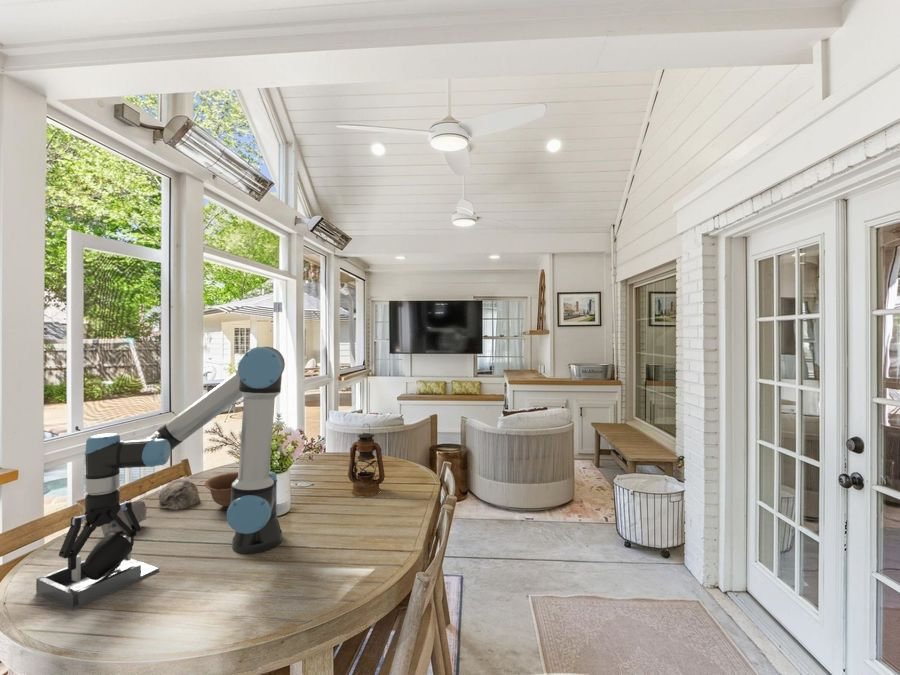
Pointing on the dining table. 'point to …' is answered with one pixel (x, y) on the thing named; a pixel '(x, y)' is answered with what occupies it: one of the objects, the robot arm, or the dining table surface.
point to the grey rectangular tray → (89, 584)
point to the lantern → (366, 479)
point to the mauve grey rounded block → (139, 512)
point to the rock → (179, 495)
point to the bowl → (221, 488)
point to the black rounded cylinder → (106, 556)
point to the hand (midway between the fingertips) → (102, 569)
